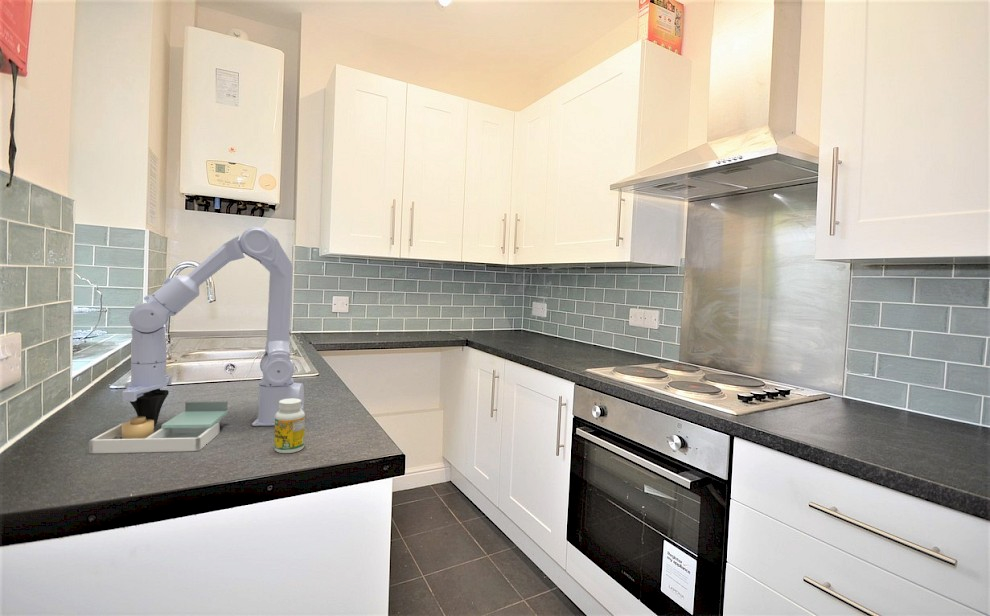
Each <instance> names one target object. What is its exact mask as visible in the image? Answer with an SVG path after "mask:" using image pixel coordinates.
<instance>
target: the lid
mask: <svg viewBox="0 0 990 616" xmlns="http://www.w3.org/2000/svg"><path fill="white" fill-rule="evenodd" d="M184 403H185V404H184V405H185V407H184V408H185V410H183V411H182V412H180V413H178V414H177V415H175V416H174V417H172V418H170V419H169V420H168V421H166V422H164V423H162V424H161V428H195V427H212V426H213V425H214V424H215V423H217V422H220V420H222V419H223V418H224V417H226V416H227V415H228V414H229V413H230V410H229V409H228V400H199V401H198V400H187V401H185V402H184Z"/></svg>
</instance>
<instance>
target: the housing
mask: <svg viewBox="0 0 990 616" xmlns="http://www.w3.org/2000/svg"><path fill="white" fill-rule="evenodd" d="M123 423H124V422H123ZM123 423H122V422H121V423H120V424H118V425H116V426H114V427H112V428H110V429H108V430H106V431H105V432H103V433H101V434H99V435H97V436H95V437H93V438H92V439H89V441H88V454H121V453H122V454H125V453H126V454H128V453H129V454H130V453H164V452H166V453H167V452H170V453H171V452H173V453H174V452H175V453H176V452H200V451H201V450H203V448H204V447H206V446H207V445H208V444H209V443H210V442H211V441H212V440H213V439H215V438H216V437H218V436H219V434H220V428H221V427H220V426H221V425H220V424H221V422H220V421H218V422H217V423H215V424H214V425H213V426H212V427H195V428H162V427H161V428H159V429H158V430H156V431H154V433H153V434H151V435H150V436H148V437H147V438H144V439H122V424H123ZM206 444H207V445H206Z"/></svg>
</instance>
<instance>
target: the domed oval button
mask: <svg viewBox="0 0 990 616" xmlns="http://www.w3.org/2000/svg"><path fill="white" fill-rule="evenodd" d="M153 433H155V427H154V420H152V419H146V417H145V416H132V417H130V420H129V421H125V422H123V424H122V437H121V439H144V438H147V437H148V436H150V435H151V434H153Z"/></svg>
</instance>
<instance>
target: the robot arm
mask: <svg viewBox="0 0 990 616" xmlns="http://www.w3.org/2000/svg"><path fill="white" fill-rule="evenodd" d="M245 255H246V256H248V257H250V258H252V259H254V260H255V261H256V262H257V261H258V262H259V264H261V265H262V266H263V267H264V268H265V270H267V272H269V284H268V285H269V286H268V301H267V302H268V306H267V326H266V327H267V328H266V329H267V330H266V342H265V350H264V355H263V357H262V358H261V359H260V363H259V367H260V370H261V373H262V375H263V376H262V378H261V379H260V380H258V404H257V405H258V407H257V410H258V411H257V412H258V415H257V418H256V419H255V420H254V421H253V422H252V423H251V426H253V427H254V426H255V427H256V426H257V427H258V426H261V427H262V426H265V427H266V426H270V427H271V426H275V415H276V413H277V412H278V411H280V409H279V401H280V400H283V399H290V398H295V399H300V400H301V408H300V409H301V410H303V411H304V412H305V410H304V408H305V405H304V404H305V403H304V401H305V387H304V383H302V382H301V383H300V382H294V378H293V375H294V374H295V373H294V372H295V369H294V365H293V363H292V361H291V348H290V329H291V328H290V327H291V306H292V305H291V304H292V289H293V288H292V287H293V268H294V266H293V262H292V261H291V259H290V258H289V257H288V255H287V253H286V252H285V250H284V249H283V247H282V245H281V244H280V242H279V240H278V238H277V237H275V236H274V235H273V234H272V233H271V232H270V231H268V230H266V228H262V227H259V226H253V227H249V228H247V229H246V230H244V232H242V234H241V236H240V234H239V235H237V236H235V237H233V238H231V239H229V240H228V241H226V242H225V243H223V244H222V245H220V246H219V247H218V248H217V249H216V250H215V251H214V252H213V253H211V254H210V255H209V256H208V257H206V259H204V260H203V261H202V262H201V263H199V264H198V265H197V266H196V267H195V268H194V269H193V270H191V272H189V273H188V274H185V275H183V274H182V275H181V274H180V275H179V274H177V275H174V276H173V277H167V278H165V279H164V280H163V283H164V284H163V285H162V286H161V287H159V288H158V289H157V290H156V291H155V292H153V293H152V294H151V295H149V294H147V295H145V297H143V300H144V301H146V302H143V303H138V304H136V305H135V306H134V308H133V309H132V310H131V311H130V312H129V316H128V321H129V324H130V325H131V327H132V328H131V340H130V381H128V382H125V383H124V388H126V389H125V390H123V391H122V393H121V394H122V395H121V399H122V401H121V402H125V403H126V402H129V403H130V404H131V405H132V407H133V408H134V411H135V413H136V415H137V416H145V417H146V419H152V420H154V428H155V427H156V426H157V424H158V419H159V416H160V412H161V410H162V408H163V404H164V402H165V400H166V398H167V397H168V395H169V390H168V389H163V388H165V387H167V386H170V385H172V377H173V376H172V375H167V338H166V327H165V325H166V324H167V322H168V321H169V318H170V317H174V316H176V315H178V313H180V311H182V310H183V309H184V308H186V307H187V306H188V305H190V303H191V302H193V301H194V300H196V298H197V297H199V296H200V286H202V284H203V283H205V282H206V281H207V280H208V279H210V278H211V277H212V276H213V275H215V274H216V273H217V272H218V271H219V270H221V269H223V268H224V267H225V266H226V265H227V264H229V263H230V262H234V261H237V260H242V259H245V258H246V256H245Z"/></svg>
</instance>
